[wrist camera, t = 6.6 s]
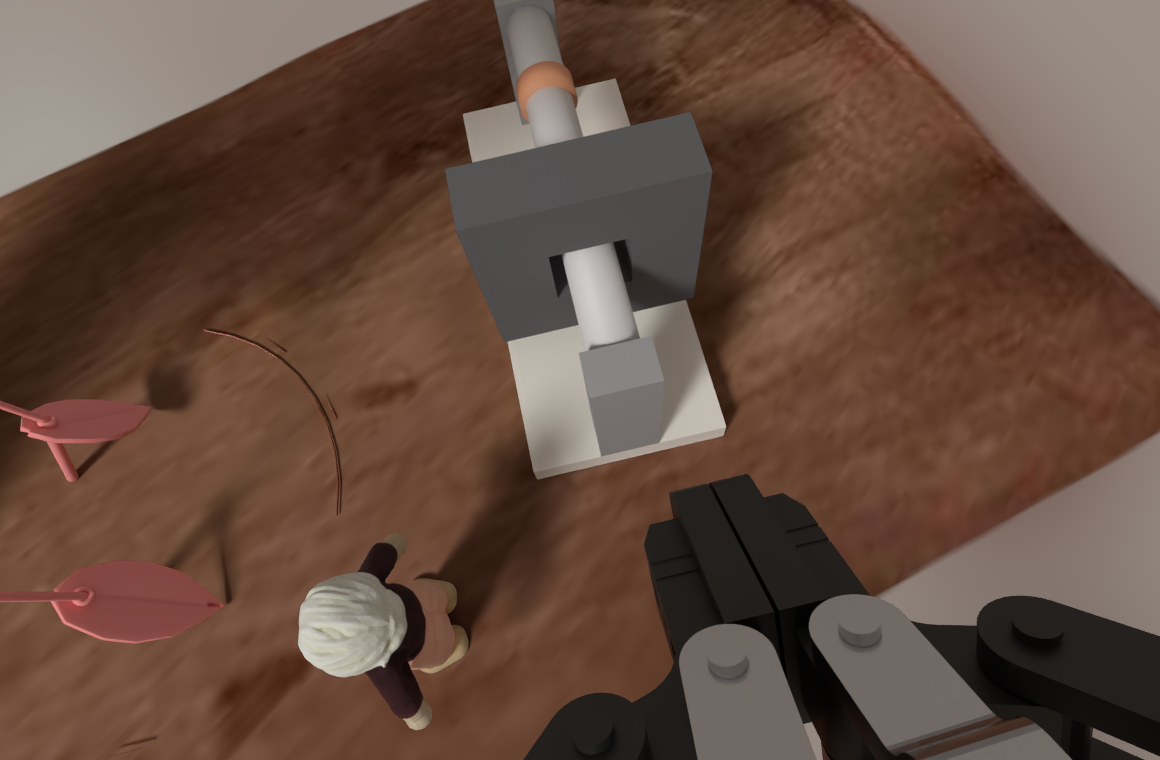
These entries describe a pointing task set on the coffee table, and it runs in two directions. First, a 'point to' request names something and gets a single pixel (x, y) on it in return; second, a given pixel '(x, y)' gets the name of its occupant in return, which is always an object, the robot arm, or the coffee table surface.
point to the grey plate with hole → (584, 219)
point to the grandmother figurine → (383, 629)
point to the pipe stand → (590, 289)
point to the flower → (122, 587)
